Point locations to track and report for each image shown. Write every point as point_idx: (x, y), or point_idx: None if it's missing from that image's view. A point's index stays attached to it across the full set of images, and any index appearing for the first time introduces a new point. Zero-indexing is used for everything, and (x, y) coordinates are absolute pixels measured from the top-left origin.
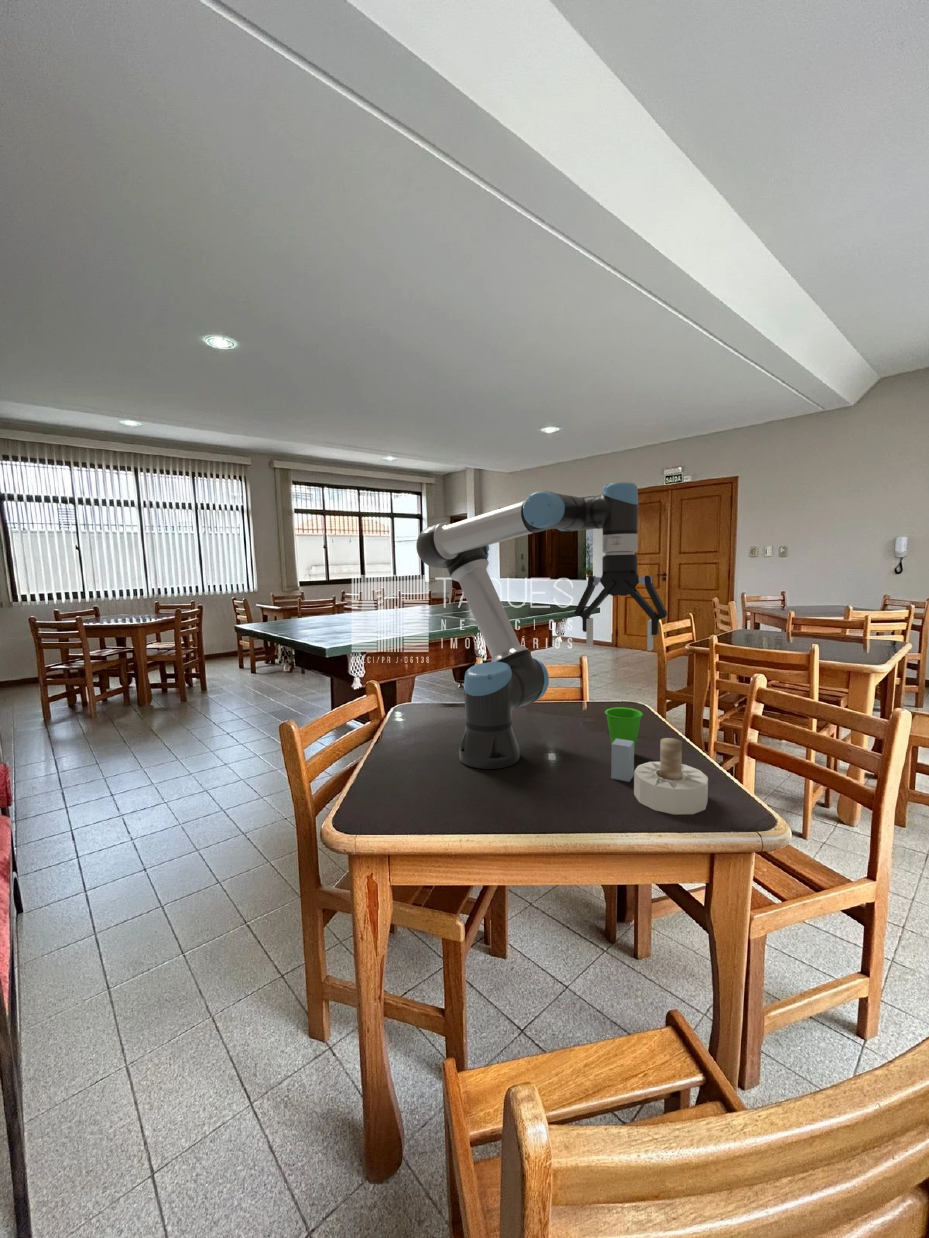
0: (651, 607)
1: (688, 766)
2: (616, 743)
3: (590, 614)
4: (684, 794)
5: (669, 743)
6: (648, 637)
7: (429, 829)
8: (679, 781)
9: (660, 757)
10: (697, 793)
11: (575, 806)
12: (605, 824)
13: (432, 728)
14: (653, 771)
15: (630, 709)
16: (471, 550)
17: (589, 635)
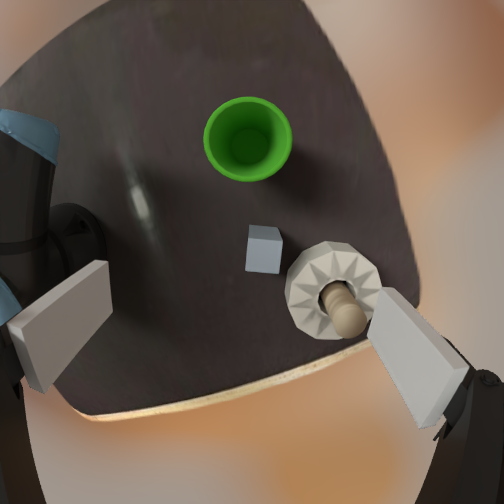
0: (500, 434)
1: (363, 258)
2: (253, 265)
3: (2, 354)
4: None
5: (348, 333)
6: (391, 369)
7: (126, 405)
8: None
9: (329, 315)
10: None
11: (222, 344)
12: (261, 366)
13: None
14: (314, 297)
15: (258, 102)
16: None
17: (88, 338)
